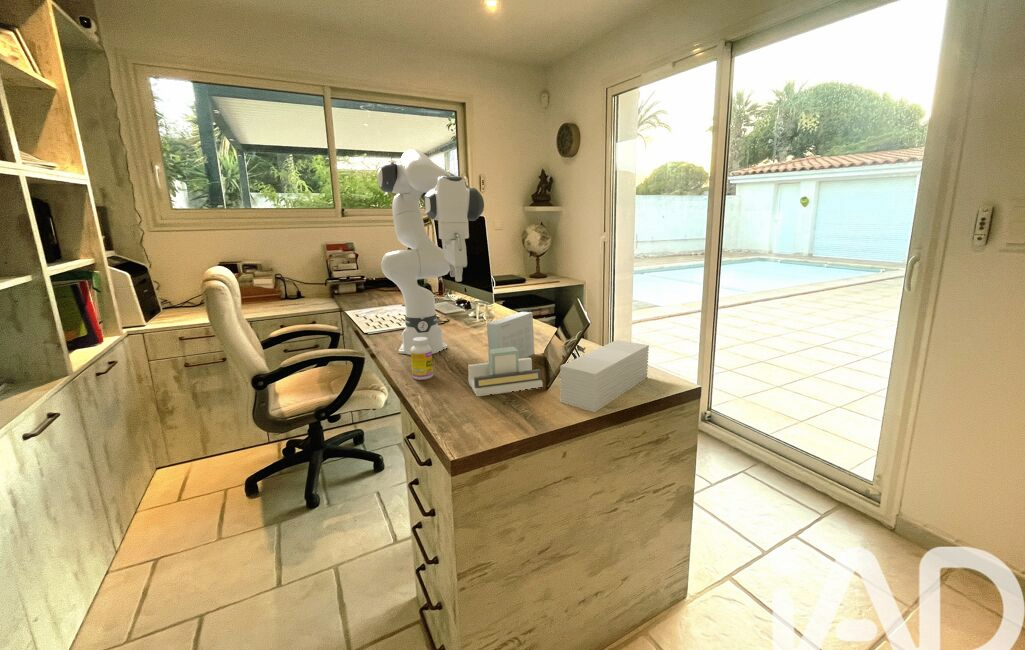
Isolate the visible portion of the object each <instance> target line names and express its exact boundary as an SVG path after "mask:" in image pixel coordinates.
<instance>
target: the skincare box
mask: <svg viewBox="0 0 1025 650" xmlns="http://www.w3.org/2000/svg"><path fill="white" fill-rule="evenodd" d="M533 314H534V313H533V312H531V311H529V312H528V311H520V312H517V313H513V314H511V315H508V316H504V317H501V318H498V319H495V320H493V321H489V322H486V330H487V331H486V333H487V343H488V349H497V348H506V347H515V348H516V349H517V350H518V359H523V358H530V357H531V356H533V355H535V342H534V341H535V339H534V337H535V336H534V335H535V334H534V319H533V318H534V317H533Z"/></svg>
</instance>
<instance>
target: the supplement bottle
mask: <svg viewBox="0 0 1025 650" xmlns="http://www.w3.org/2000/svg"><path fill="white" fill-rule="evenodd" d="M427 343H428V338H427V337H416V338H414V339H413V344H414V346H413V347H412V348H411V350H410V351H411V355H410V361H411V375H412V378H413V379H414V380H418V381H421V380H423V381H424V380H429V379H431V378H432V377H434V366H433V354H432V349H431V347H430V346H429V345H428V344H427Z"/></svg>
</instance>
